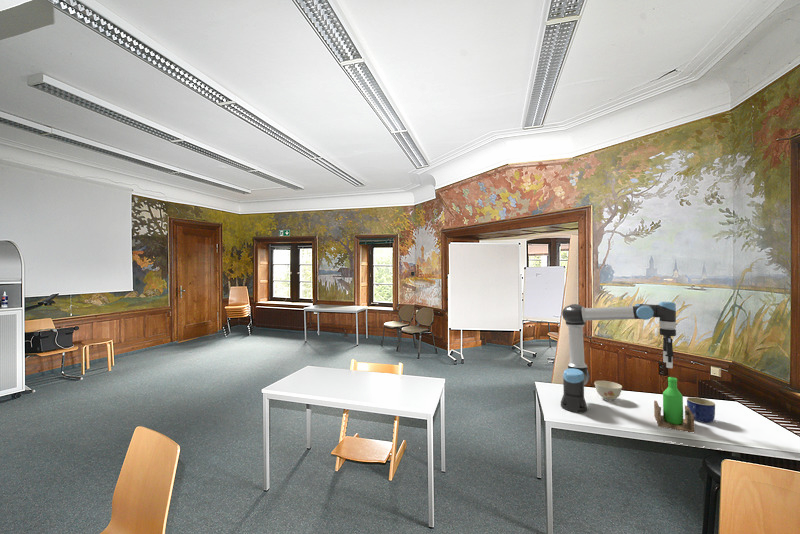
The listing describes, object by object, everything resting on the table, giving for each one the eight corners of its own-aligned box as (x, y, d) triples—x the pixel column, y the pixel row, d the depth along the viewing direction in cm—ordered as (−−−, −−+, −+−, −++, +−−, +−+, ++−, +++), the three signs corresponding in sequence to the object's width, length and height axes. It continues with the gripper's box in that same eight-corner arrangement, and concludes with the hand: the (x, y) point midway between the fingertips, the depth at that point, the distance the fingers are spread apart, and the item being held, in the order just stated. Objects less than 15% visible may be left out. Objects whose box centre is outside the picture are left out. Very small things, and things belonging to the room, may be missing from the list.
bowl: (591, 398, 227) (591, 384, 227) (598, 393, 238) (598, 379, 238) (618, 405, 215) (618, 390, 215) (625, 399, 226) (625, 384, 226)
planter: (709, 426, 186) (709, 406, 187) (682, 417, 197) (682, 399, 198) (719, 421, 192) (719, 402, 192) (692, 413, 203) (692, 395, 203)
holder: (658, 426, 186) (658, 409, 186) (654, 415, 200) (654, 400, 200) (694, 433, 178) (694, 415, 178) (687, 421, 192) (687, 405, 192)
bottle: (687, 426, 184) (686, 380, 184) (669, 424, 185) (668, 379, 186) (677, 419, 192) (676, 375, 193) (660, 417, 194) (659, 374, 195)
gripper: (679, 332, 181) (679, 371, 180) (672, 326, 202) (672, 361, 201) (662, 330, 185) (662, 369, 184) (657, 325, 206) (657, 359, 205)
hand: (667, 365), depth 193 cm, fingers open, 13 cm apart
